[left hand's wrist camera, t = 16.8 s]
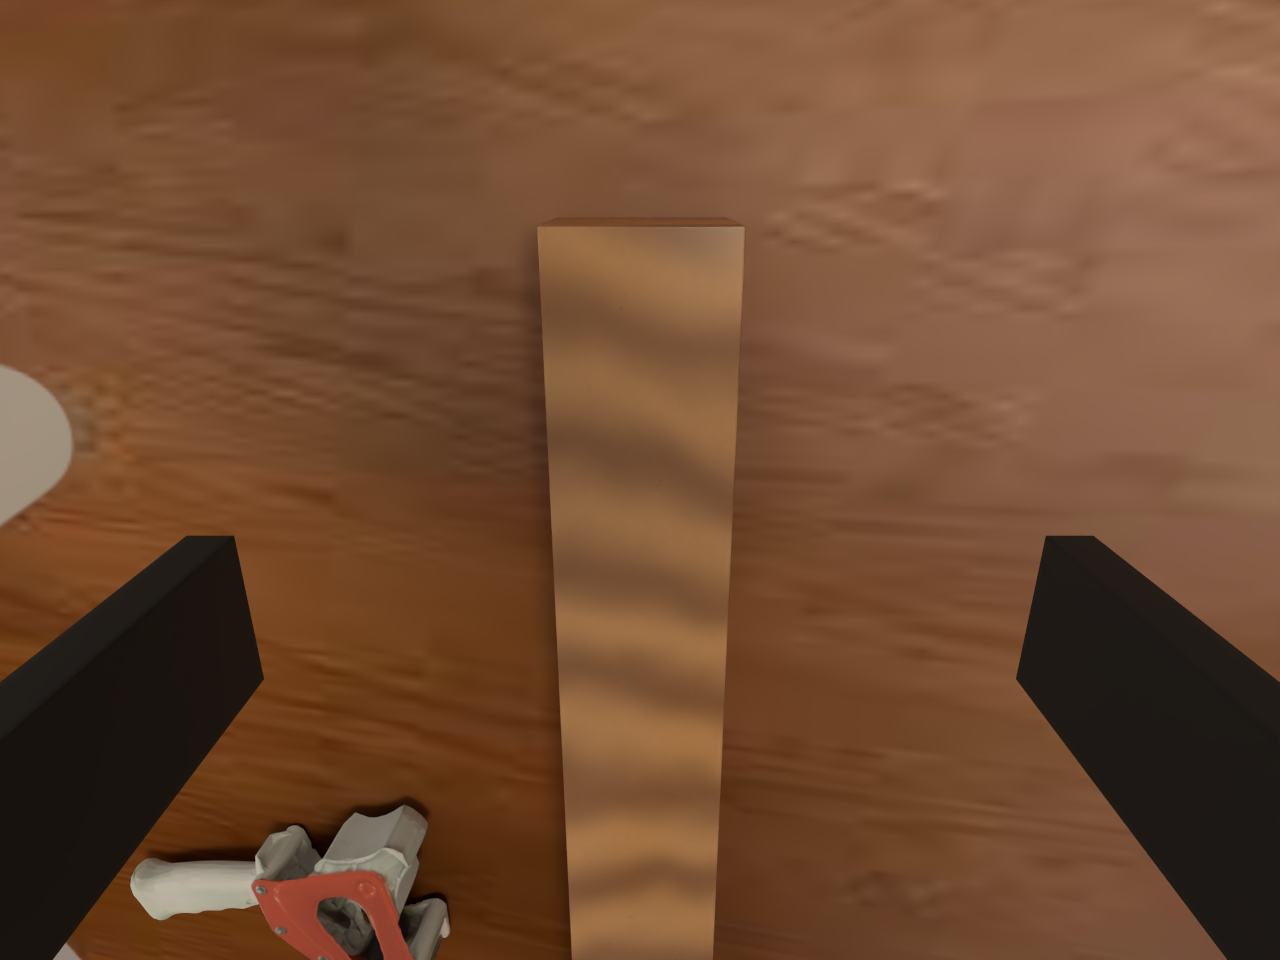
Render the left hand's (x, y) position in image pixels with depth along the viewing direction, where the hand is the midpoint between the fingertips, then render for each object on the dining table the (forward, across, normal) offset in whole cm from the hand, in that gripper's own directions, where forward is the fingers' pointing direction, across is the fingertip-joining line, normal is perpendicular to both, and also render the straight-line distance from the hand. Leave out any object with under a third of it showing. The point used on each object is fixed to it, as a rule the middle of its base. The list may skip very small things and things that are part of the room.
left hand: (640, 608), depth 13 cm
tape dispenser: (+29, -21, -37) cm, 51 cm away
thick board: (+29, 0, -36) cm, 46 cm away
